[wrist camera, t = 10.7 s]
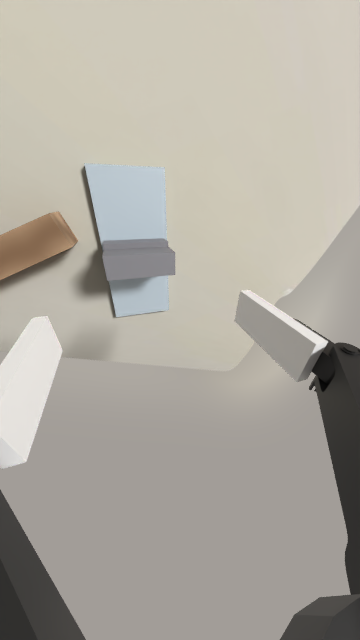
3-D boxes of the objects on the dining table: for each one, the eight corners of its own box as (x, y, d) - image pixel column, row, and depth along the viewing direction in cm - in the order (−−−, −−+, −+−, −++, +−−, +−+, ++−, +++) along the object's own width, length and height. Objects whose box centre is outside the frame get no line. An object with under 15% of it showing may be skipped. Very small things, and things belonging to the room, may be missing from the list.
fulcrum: (116, 314, 35) (116, 339, 29) (85, 164, 23) (73, 150, 17) (167, 307, 38) (178, 329, 31) (163, 168, 26) (178, 157, 19)
